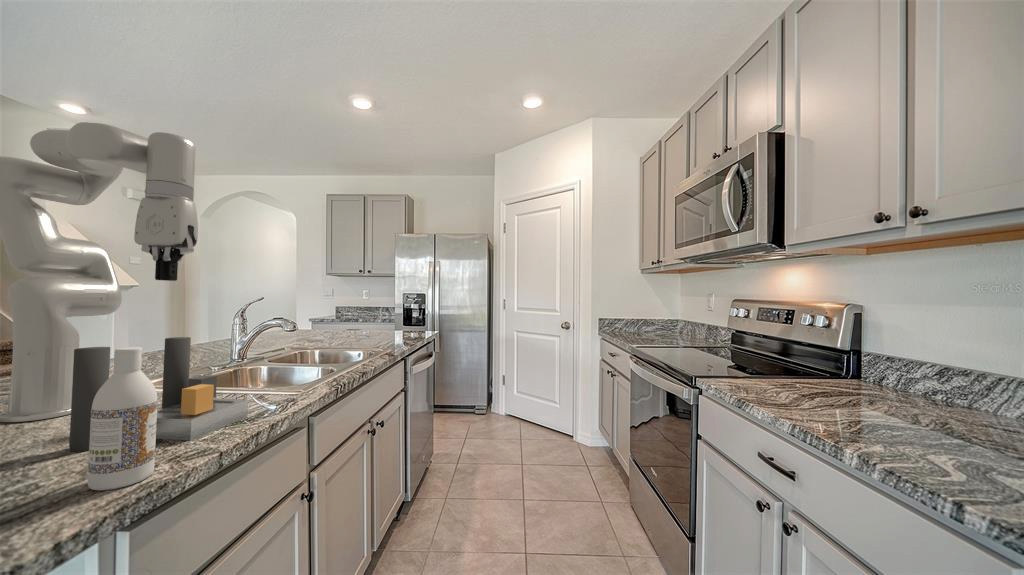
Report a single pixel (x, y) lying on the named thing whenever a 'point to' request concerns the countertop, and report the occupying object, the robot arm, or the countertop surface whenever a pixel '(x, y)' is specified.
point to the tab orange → (197, 399)
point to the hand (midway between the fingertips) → (166, 280)
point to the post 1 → (86, 392)
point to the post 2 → (175, 369)
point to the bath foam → (123, 425)
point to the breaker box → (199, 419)
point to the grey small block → (204, 381)
